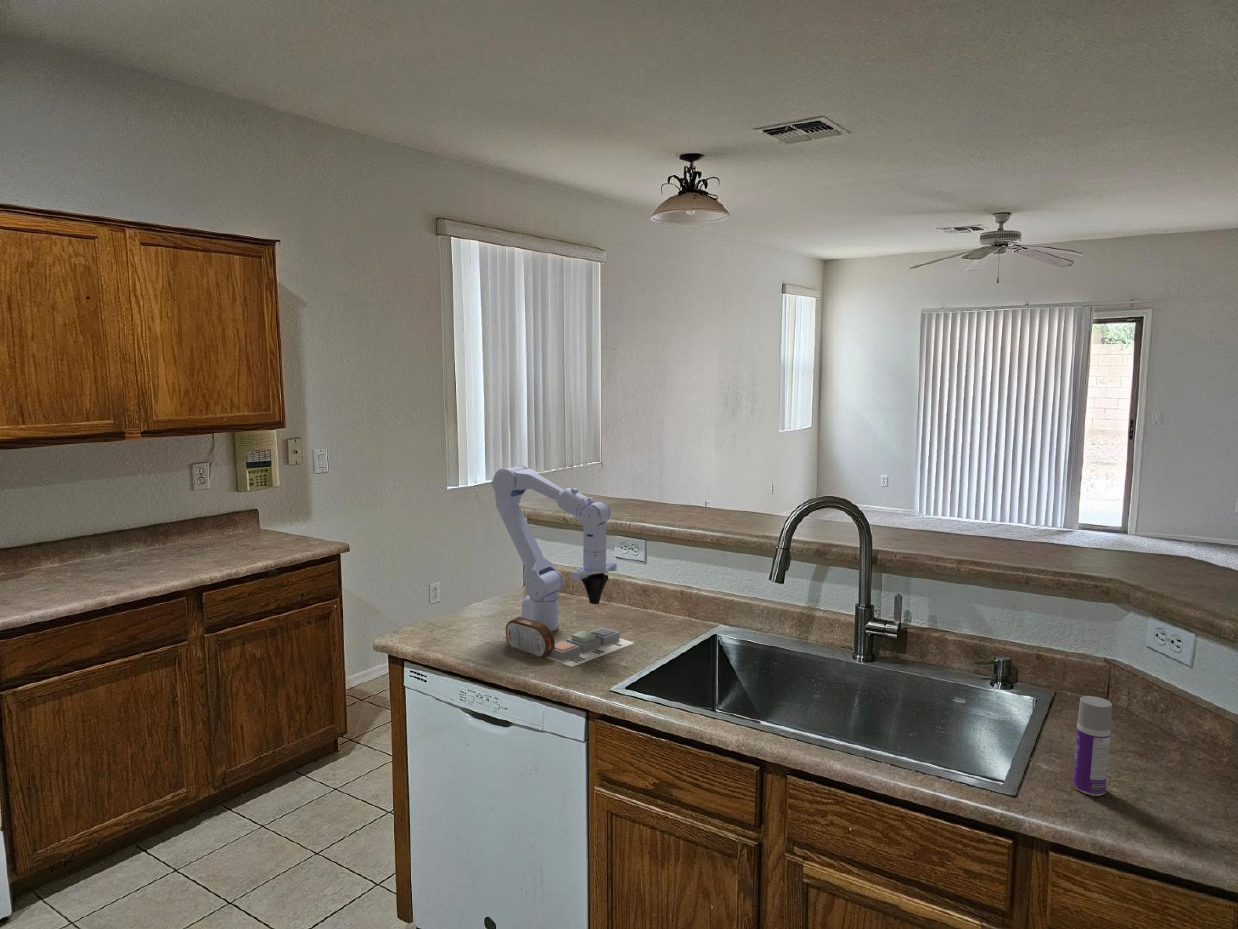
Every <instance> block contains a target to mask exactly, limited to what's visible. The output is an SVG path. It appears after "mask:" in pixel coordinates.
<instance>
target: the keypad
mask: <svg viewBox="0 0 1238 929" xmlns="http://www.w3.org/2000/svg"><path fill="white" fill-rule="evenodd" d="M602 628H603V629H606V630H610V631H613V632H614V633H613V634H610V635H607V636H604V637H603V636H600V635H596V634H595V640H593V641H590V642H588V643H585V644H583V643H580V642H577V641H573V640H572V637H569V638H566V640H560V641H558V642H555V645H556V644H558V643H561V642H565V643H568V644H571V645H574V646H575V647H574V648H571V649H568V650H565V651H560V650H557V649H552V651H551V653H550V654H549V655H548V656H547V657H544V659H548V660H551V661H554V662H556V663H560V664H563V665H565V666H568V667H571V668H573V667H576V666H579V665H581V664H583V663H586V662H589V661H591V660H594V659H597V658H599V657H602V656H605V655H607V654H610V653H612V652H615V651H619V650H621V649H623V648H626V647H628V646H631V645H633V644H635V642H634V641H630V640H627V639H623V638H620V633H621V632H620V631H618V630H617V631H616V630H613V629H610V628H606V627H603V626H602V627H599V628H596V629H593V630H591V631H588V632H589V633H592V632H593V631H596V630H599V629H602ZM592 634H593V633H592Z"/></svg>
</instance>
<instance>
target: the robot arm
mask: <svg viewBox="0 0 1238 929" xmlns="http://www.w3.org/2000/svg"><path fill="white" fill-rule="evenodd" d="M490 484H491V487H492V488H493V491H494V497H495V506H496V510H497V511H498V513H499V515H500V517H501V520H502V522H503V524H504V526H505V528H506V530H507V532H508V534H509V536H510V539H511V540H512V544H514V547H515V549H516V551H517V553H518V556H519V558H520V559H521V561H522V563H523V566H524V570H523V573H522V579H523V581H524V586H525V588H524V589H525V591H526V596H525V597H524V598H523V601H522V604H521V617H523V618H526V619H530V620H533V621H537V622H541V623H543V624H545V625H546V626H547V627H548V628H549V629H550V631H551V632H553V631H555V630H556V631H557V630H558V628H559V595H560V594H559V593H560V592H559V591H561V589H562V588H563V586H564V578H563V575H562V573H561V572H560V571H559V570H558V569H557V568H555V566H554V563H553V562H551V561H550V560H548V559H547V558H546V557H544V554H543V553H542V550H541V548H540V546H539V544H538V542H537V540H536V537H535V535H534V534H533V532H532V530H531V528H530V525H529V523H528V521H527V518H526V517H525V515H524V513H523V511H522V509H521V507H520V502H521V499H522V497H523V495H524V494H525V493H526V491H527V490H533V491H535V492H536V493H539V494H541V495H543V496H545V497H547V498H550V499H551V500H553V501H556V503H557V506H558V508H559V509H560V510H562V511H564V512H566V513H568V514H569V515H571V516H574V517H575V518H577V519H579V521H580V524H582V529H583V530H582V531H583V548H582V549H583V550H582V551H583V553H582V554H583V558H582V559H583V560H582V561H583V562H582V565H583V566H582V567H580V568H578V569H576V570H573V571H571V581H576V582H579V581H582V584H583V585H584V588H585V590H586V594H587V598H588V603H589V604H591V605H595V606H596V605H598V604H600V600H601V596H602V593H603V590H604V587H605V585H606V584H607V582H608V580H609V575H608V574H607V573H609V572H616V571H617V567H618V566H617V565H618V564H617V562H613V561H612V562H611V561H610V562H607V522H608V521H609V520H610V517H611V509H610V507H609V505H608V504H607V503H605V502H604V501H603V500H596V501H595V500H594V498H593V497H587V496H585V495H584V494H582V493H581V492H579V489H578V488H576V487H572V488H570V487H567V488H565V489H563V488H561V487H560V486H558V485H557V484H555V483H553V482H552V481H550V480H548V479H547V478H546V477H545V476H542V475H540V474H539V473H537V472H536V470H534V469H532V468H528V467H527V466H525V465H523V464H519V465H517V466H512V467H506V468H500V469H498V470H496V471H495V473H494V475H493V478H492V480H491V483H490Z"/></svg>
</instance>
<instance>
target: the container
mask: <svg viewBox="0 0 1238 929" xmlns="http://www.w3.org/2000/svg"><path fill="white" fill-rule="evenodd" d="M1112 714H1113V704H1112V702H1111V701H1109V700H1108V699H1105V698H1102V697H1098V696H1092V695H1085V696H1081V697H1080V698H1079V708H1078V715H1077V722H1076V723H1077V724H1076V735H1075V746H1074V758H1073V770H1072V771H1073V772H1072V782H1073V785H1075V787H1077V788H1078V789H1079V790H1081V791H1086V792H1089V793H1092V794H1093V793H1094V794H1101V793H1104V792H1105V791H1106V790H1107V778H1108V769H1109V757H1110V754H1109V753H1110V746H1111V730H1112V717H1113V716H1112ZM1105 793H1106V792H1105Z"/></svg>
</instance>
